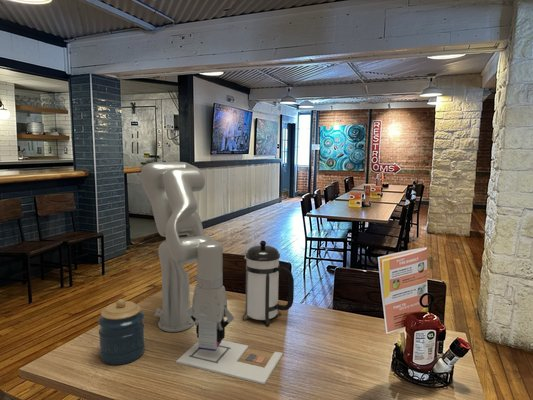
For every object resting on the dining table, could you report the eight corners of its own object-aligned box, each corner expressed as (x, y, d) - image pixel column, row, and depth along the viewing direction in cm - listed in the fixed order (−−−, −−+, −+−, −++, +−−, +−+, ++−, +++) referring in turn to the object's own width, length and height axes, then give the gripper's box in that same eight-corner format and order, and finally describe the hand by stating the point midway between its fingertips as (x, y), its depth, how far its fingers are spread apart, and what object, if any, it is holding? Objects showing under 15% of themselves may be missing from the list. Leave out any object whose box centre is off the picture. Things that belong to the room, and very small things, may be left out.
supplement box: (216, 351, 111) (216, 315, 110) (197, 349, 113) (197, 313, 111) (222, 341, 117) (222, 307, 116) (204, 339, 118) (204, 305, 117)
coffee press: (246, 330, 131) (247, 247, 127) (239, 311, 147) (239, 236, 143) (293, 325, 135) (295, 245, 131) (281, 307, 151) (283, 235, 147)
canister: (130, 368, 107) (128, 310, 105) (90, 363, 109) (87, 306, 107) (152, 345, 120) (151, 293, 117) (115, 341, 122) (113, 289, 120)
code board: (176, 362, 110) (176, 360, 110) (203, 337, 125) (203, 335, 125) (264, 384, 101) (264, 382, 101) (282, 354, 116) (282, 352, 116)
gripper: (178, 282, 112) (179, 338, 114) (230, 290, 106) (230, 349, 108) (191, 274, 119) (192, 328, 121) (241, 282, 113) (241, 337, 115)
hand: (210, 337), depth 115 cm, fingers closed on supplement box, 6 cm apart
